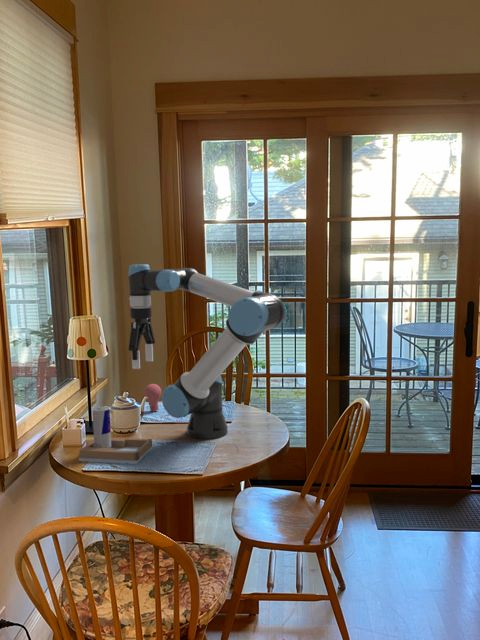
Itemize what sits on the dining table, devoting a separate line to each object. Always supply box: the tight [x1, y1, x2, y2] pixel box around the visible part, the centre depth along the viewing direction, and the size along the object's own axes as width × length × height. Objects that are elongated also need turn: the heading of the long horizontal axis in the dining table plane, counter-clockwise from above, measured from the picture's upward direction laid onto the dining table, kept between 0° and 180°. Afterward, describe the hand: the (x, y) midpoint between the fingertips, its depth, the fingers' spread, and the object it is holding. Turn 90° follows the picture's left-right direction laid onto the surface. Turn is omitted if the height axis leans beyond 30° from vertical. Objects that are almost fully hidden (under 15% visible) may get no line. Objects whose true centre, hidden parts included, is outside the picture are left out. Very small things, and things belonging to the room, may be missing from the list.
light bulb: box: [144, 383, 162, 412], centre depth 244 cm, size 7×7×12 cm
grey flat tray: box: [78, 436, 154, 465], centre depth 194 cm, size 20×16×3 cm
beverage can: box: [92, 405, 112, 448], centre depth 194 cm, size 6×6×15 cm
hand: (143, 364), depth 210 cm, fingers open, 13 cm apart
